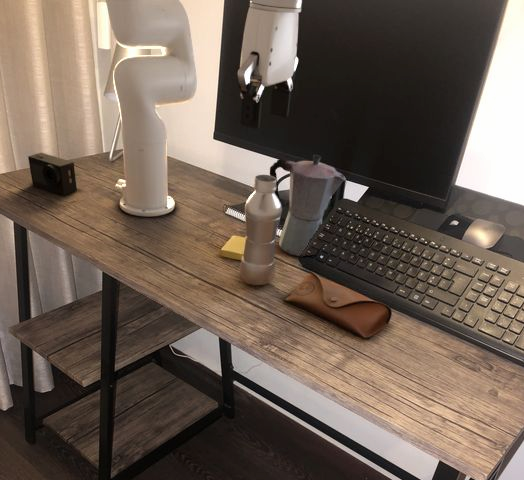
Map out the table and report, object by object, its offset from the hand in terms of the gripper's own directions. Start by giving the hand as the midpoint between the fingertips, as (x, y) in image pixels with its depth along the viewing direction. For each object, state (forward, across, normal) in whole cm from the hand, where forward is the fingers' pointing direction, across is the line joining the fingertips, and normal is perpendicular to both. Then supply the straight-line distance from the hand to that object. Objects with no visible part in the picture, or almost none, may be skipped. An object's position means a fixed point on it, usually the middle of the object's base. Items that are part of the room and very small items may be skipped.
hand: (264, 120), depth 90 cm
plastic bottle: (+29, +1, +2) cm, 29 cm away
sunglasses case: (+29, +2, +19) cm, 34 cm away
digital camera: (+30, -8, -60) cm, 68 cm away
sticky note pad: (+29, -8, -6) cm, 31 cm away
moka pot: (+29, -17, +2) cm, 34 cm away
